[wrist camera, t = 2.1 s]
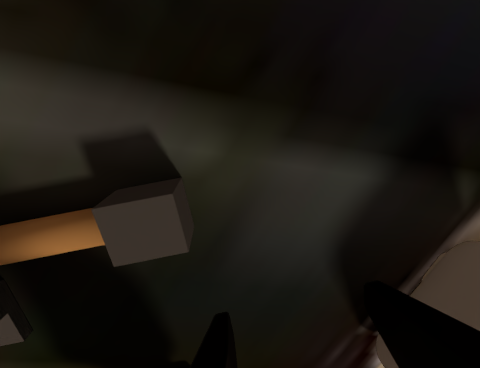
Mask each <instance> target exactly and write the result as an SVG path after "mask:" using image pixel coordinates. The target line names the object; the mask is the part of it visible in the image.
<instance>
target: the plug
mask: <svg viewBox="0 0 480 368" xmlns="http://www.w3.org/2000/svg"><path fill="white" fill-rule="evenodd" d="M193 229H194V223H193V219H192V215H191V211H190V208H189V204H188V200H187V196H186V192H185V188H184V184H183V181H182V177H181V178H176V179H170V180H165V181H160V182H155V183H149V184H144V185H139V186H134V187H128V188H123V189H118V190H116V191H114V192H113V193H112V194H110V195H109V196H108V197H107V198H105V199H104V200H103V201H101V202H100V203H99V204H97V205H96V206H95V207H94V208H89V209H84V210H79V211H74V212H69V213H63V214H58V215H53V216H48V217H43V218H37V219H32V220H27V221H22V222H16V223H11V224H6V225H1V226H0V265H5V264H10V263H15V262H20V261H25V260H30V259H35V258H40V257H45V256H50V255H56V254H61V253H66V252H71V251H76V250H81V249H86V248H91V247H96V246H101V245H105V246H106V248H107V251H108V253H109V256H110V258H111V261H112V263H113V266H114V267H116V266H121V265H126V264H131V263H136V262H141V261H146V260H151V259H156V258H161V257H166V256H171V255H176V254H181V253H186V252H189V248H190V243H191V239H192V234H193Z"/></svg>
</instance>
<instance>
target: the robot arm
mask: <svg viewBox="0 0 480 368" xmlns="http://www.w3.org/2000/svg"><path fill="white" fill-rule="evenodd" d="M364 304H365V308H366V310H367V312H368V314H369V316H370V318H371V320H372V321H373V323H374V325H375V327H376V329H377V330H378V332H379V334H380V336H381V338H382V339H383V341H384V343H385V345H386V346H387V348H388V350H389V352H390V354H391V355H392V357H393V359H394V361H395V362H396V364H397V365H398V367H399V368H480V331H479V330H477V329H475V328H473V327H471V326H469V325H467V324H465V323H463V322H461V321H459V320H457V319H455V318H453V317H451V316H449V315H447V314H445V313H443V312H441V311H439V310H437V309H435V308H433V307H431V306H429V305H427V304H425V303H423V302H421V301H419V300H417V299H415V298H413V297H411V296H409V295H407V294H404V293H402V292H400V291H398V290H396V289H394V288H392V287H390V286H388V285H386V284H384V283H382V282H380V281H371V282H366V283H365V284H364ZM183 368H189V367H183ZM190 368H237V359H236V350H235V341H234V334H233V329H232V325H231V321H230V316H229V313H228V312H223V313H218V314H216V315H215V316H214V318H213V320H212V322H211V324H210V326H209V328H208V330H207V332H206V335H205V337H204V339H203V341H202V343H201V345H200V347H199V349H198V351H197V354H196V356H195V358H194V360H193V362H192V364H191V366H190Z"/></svg>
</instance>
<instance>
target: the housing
mask: <svg viewBox="0 0 480 368" xmlns="http://www.w3.org/2000/svg"><path fill="white" fill-rule="evenodd" d="M32 331H33V330H32V328H31V326H30V325H29V323H28V321H27V319H26V318H25V316H24V314H23V312H22V310H21V309H20V307H19V305H18V303H17V302H16V300H15V298H14V296H13V295H12V293H11V291H10V289H9V288H8V286H7V284H6V282H5V280H0V346H3V345H8V344H13V343H18V342H22V341H25V339H26V338H27V337H28V336H29V335H30V334H31V332H32Z"/></svg>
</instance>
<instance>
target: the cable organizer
mask: <svg viewBox="0 0 480 368" xmlns="http://www.w3.org/2000/svg"><path fill="white" fill-rule="evenodd" d="M410 296H411V297H413V298H415V299H417V300H419V301H421V302H423V303H425V304H427V305H429V306H431V307H433V308H435V309H437V310H439V311H441V312H443V313H445V314H447V315H449V316H451V317H453V318H455V319H457V320H459V321H461V322H463V323H465V324H467V325H469V326H471V327H473V328H475V329H477V330H479V331H480V242H479V241H467V242H463V243H460V244H458V245H456V246H454V247H453V248H451V249H450V250H449V251H448V252H447V253H443V254H441V255H440V256H439V257H438V258H437V260H436V261H435V262H434V263H433V265H432V266H431V267H430V268H429V270H428V271H427V272H426V273H425V275H424V276H423V278H422V282H421V283H420V284H419V286H418V287H417V288H416V289H415V290H414V291H413V293H412V294H411V295H410ZM376 351H377V355H378V357H379V359H380V361H381V363H382V364H383V366H384V367H385V368H399V367H398V365H397V364H396V362H395V361H394V359H393V357H392V355H391V354H390V352H389V350H388V348H387V346H386V345H385V343H384V341H383V339H382V338H381V336H380V334H378V337H377V342H376Z"/></svg>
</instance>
